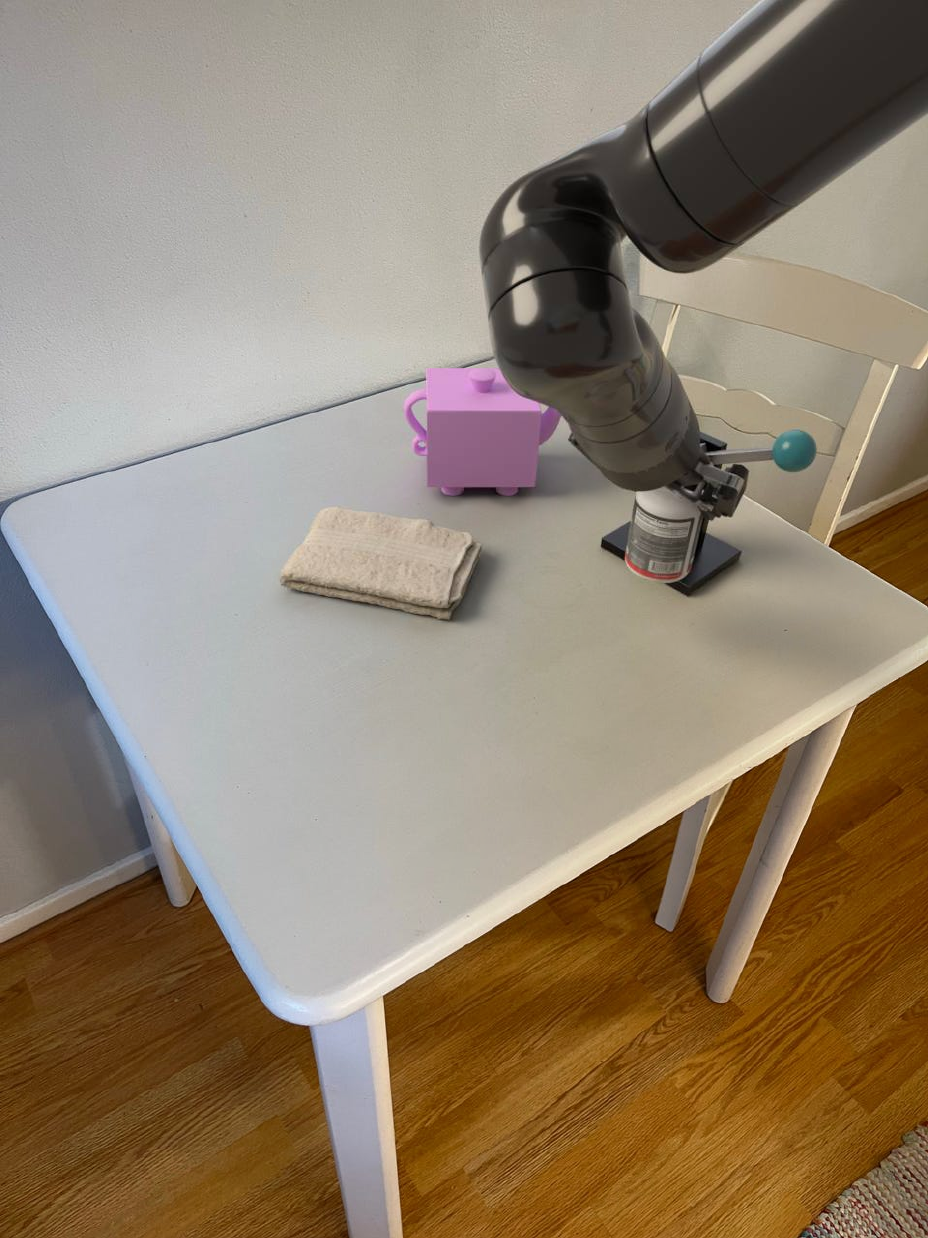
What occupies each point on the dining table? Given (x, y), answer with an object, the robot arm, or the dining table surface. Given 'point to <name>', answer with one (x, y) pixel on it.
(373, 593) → the washcloth
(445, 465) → the teapot
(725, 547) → the bracket
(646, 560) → the pill bottle
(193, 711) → the dining table surface
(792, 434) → the lever with teal knob
